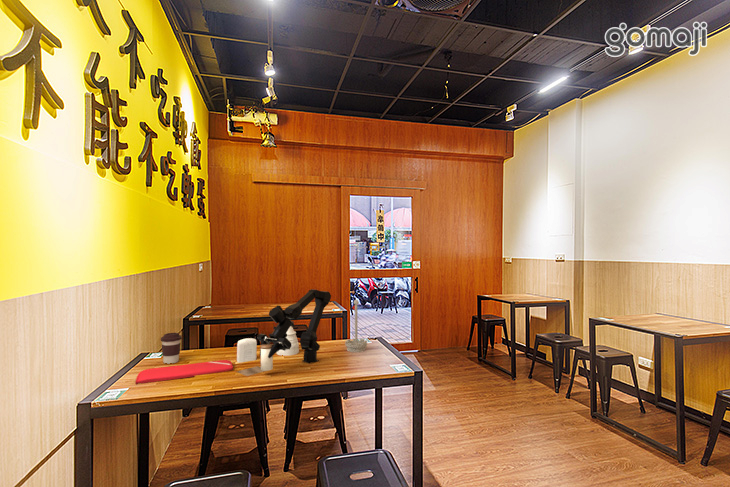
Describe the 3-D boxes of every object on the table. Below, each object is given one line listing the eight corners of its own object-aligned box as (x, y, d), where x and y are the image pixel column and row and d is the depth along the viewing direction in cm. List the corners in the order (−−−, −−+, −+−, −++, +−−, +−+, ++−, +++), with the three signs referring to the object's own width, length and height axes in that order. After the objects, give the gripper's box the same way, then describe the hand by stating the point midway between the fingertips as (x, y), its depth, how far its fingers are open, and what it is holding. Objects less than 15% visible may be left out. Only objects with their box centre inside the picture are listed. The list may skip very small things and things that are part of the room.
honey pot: (274, 355, 212) (274, 323, 213) (279, 349, 225) (279, 319, 226) (296, 355, 213) (296, 323, 213) (300, 349, 225) (300, 319, 226)
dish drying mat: (140, 375, 180) (140, 367, 180) (230, 364, 196) (230, 357, 196) (135, 385, 165) (135, 377, 165) (233, 373, 182) (233, 365, 182)
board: (257, 367, 190) (257, 366, 190) (269, 371, 183) (269, 370, 183) (235, 373, 181) (235, 371, 181) (247, 377, 174) (247, 376, 174)
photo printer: (255, 359, 205) (255, 336, 205) (257, 361, 201) (257, 338, 202) (235, 362, 199) (236, 339, 199) (238, 364, 196) (238, 340, 196)
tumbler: (265, 366, 179) (265, 343, 180) (275, 367, 177) (275, 344, 178) (258, 369, 174) (258, 346, 175) (267, 371, 172) (267, 347, 172)
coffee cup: (156, 363, 197) (156, 334, 197) (172, 358, 206) (172, 331, 207) (169, 365, 193) (170, 336, 194) (185, 360, 202) (185, 332, 203)
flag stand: (371, 350, 223) (371, 300, 223) (351, 353, 216) (351, 301, 217) (360, 346, 234) (360, 298, 235) (341, 348, 227) (341, 299, 228)
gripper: (303, 340, 184) (287, 369, 174) (277, 336, 194) (260, 362, 185) (292, 327, 177) (274, 356, 168) (265, 323, 188) (247, 350, 178)
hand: (264, 356), depth 175 cm, fingers closed on tumbler, 5 cm apart
